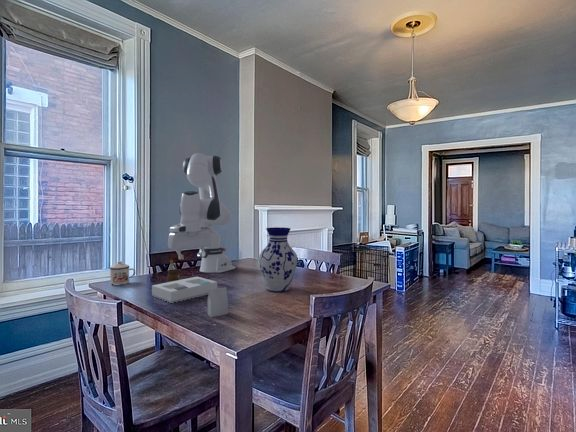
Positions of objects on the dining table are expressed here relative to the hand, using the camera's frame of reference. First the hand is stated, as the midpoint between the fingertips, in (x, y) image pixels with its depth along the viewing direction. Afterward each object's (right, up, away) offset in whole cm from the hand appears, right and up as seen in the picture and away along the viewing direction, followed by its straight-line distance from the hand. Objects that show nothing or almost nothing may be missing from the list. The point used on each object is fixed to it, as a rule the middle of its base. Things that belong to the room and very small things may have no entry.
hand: (190, 258), depth 153 cm
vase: (+39, -17, +14) cm, 45 cm away
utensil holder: (-16, -16, +23) cm, 33 cm away
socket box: (-3, -17, +4) cm, 18 cm away
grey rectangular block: (+17, -19, -23) cm, 34 cm away
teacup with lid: (-42, -16, +24) cm, 51 cm away
